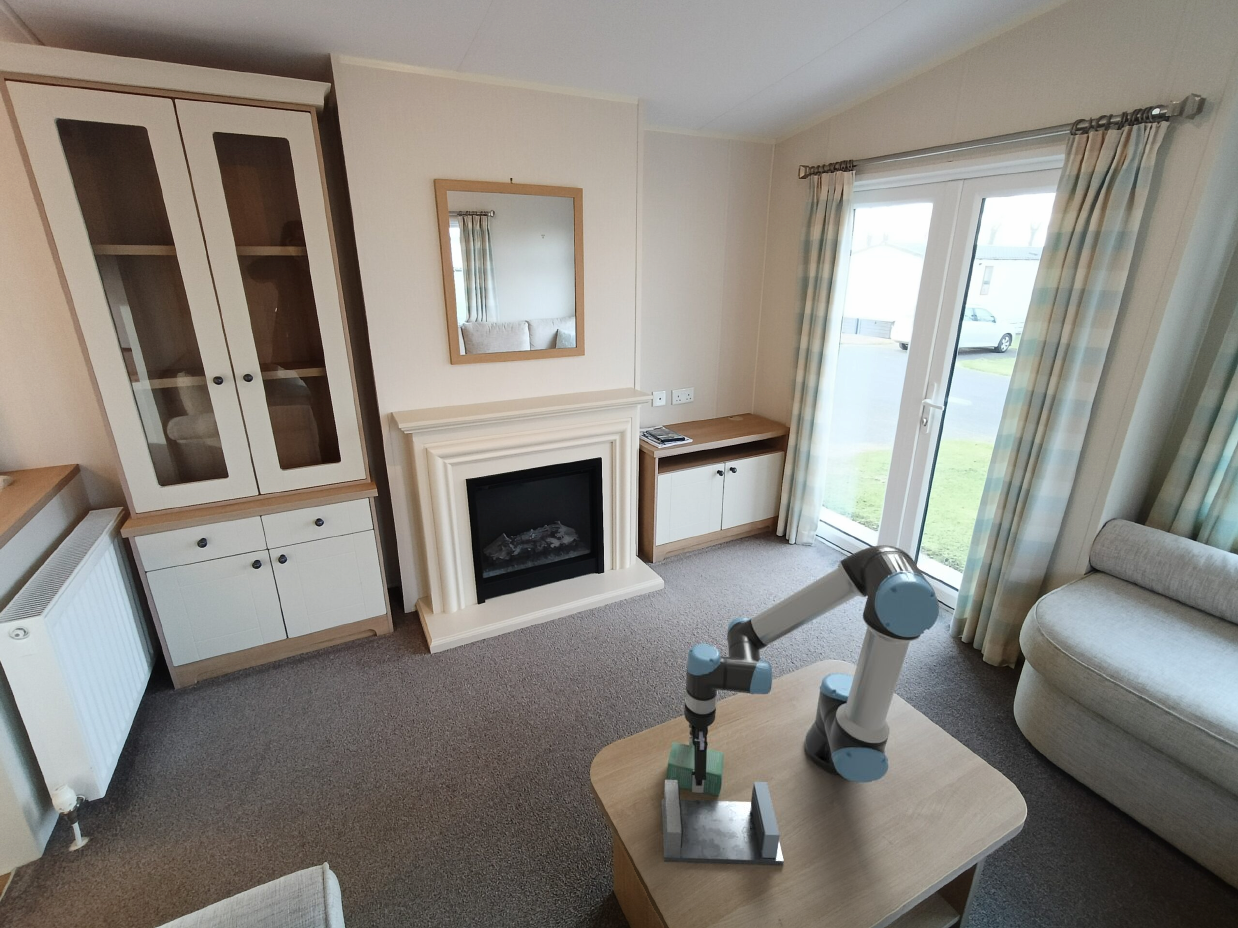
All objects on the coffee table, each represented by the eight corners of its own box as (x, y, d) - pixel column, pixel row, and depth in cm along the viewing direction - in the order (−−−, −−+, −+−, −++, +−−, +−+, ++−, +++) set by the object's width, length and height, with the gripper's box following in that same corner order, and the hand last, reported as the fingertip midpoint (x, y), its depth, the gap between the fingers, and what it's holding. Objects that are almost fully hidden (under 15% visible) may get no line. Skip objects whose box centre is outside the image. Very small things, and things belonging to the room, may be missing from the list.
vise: (769, 807, 137) (772, 780, 134) (783, 865, 124) (787, 837, 121) (661, 803, 138) (662, 777, 135) (664, 861, 125) (665, 834, 122)
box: (720, 797, 139) (722, 774, 137) (666, 785, 142) (666, 763, 140) (722, 772, 146) (724, 750, 144) (670, 762, 149) (671, 740, 147)
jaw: (763, 803, 136) (766, 781, 134) (776, 857, 124) (779, 834, 121) (749, 803, 136) (752, 781, 134) (760, 857, 124) (763, 834, 121)
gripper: (681, 671, 147) (677, 738, 155) (688, 740, 126) (684, 812, 134) (710, 672, 147) (705, 739, 155) (722, 741, 126) (716, 813, 134)
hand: (695, 773), depth 144 cm, fingers open, 9 cm apart
